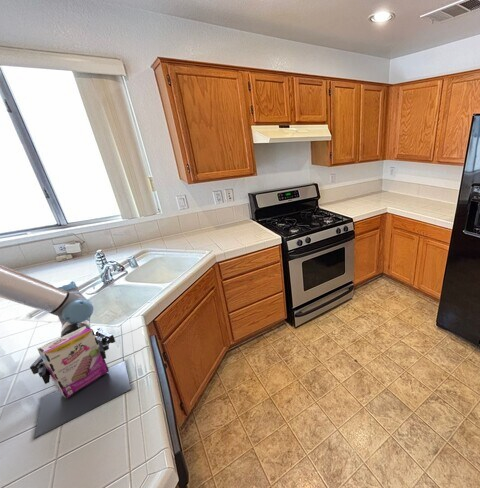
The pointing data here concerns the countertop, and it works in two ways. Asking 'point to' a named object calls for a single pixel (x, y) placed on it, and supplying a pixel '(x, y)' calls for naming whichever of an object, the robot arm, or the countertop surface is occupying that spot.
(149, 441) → the countertop surface
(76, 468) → the countertop surface
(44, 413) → the slate placemat
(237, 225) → the countertop surface
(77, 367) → the candy bar box
